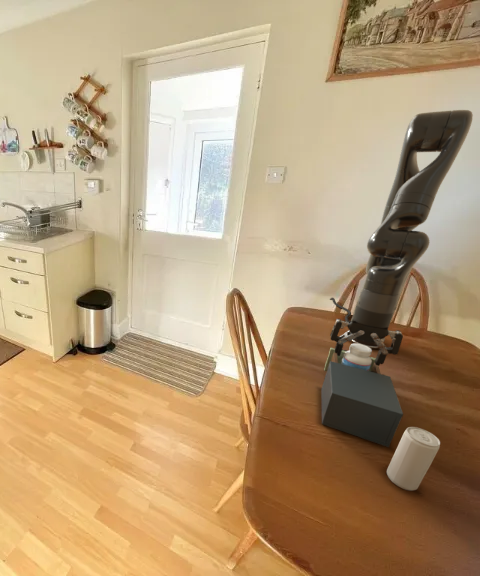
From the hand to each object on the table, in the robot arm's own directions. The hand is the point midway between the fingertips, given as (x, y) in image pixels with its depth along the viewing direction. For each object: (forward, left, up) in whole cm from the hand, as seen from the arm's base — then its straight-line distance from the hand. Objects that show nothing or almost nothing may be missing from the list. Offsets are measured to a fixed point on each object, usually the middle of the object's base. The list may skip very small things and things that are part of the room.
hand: (356, 359), depth 87 cm
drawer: (0, 0, -9) cm, 9 cm away
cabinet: (+13, 0, -9) cm, 16 cm away
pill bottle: (0, 0, -8) cm, 8 cm away
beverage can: (+30, +7, -10) cm, 33 cm away
